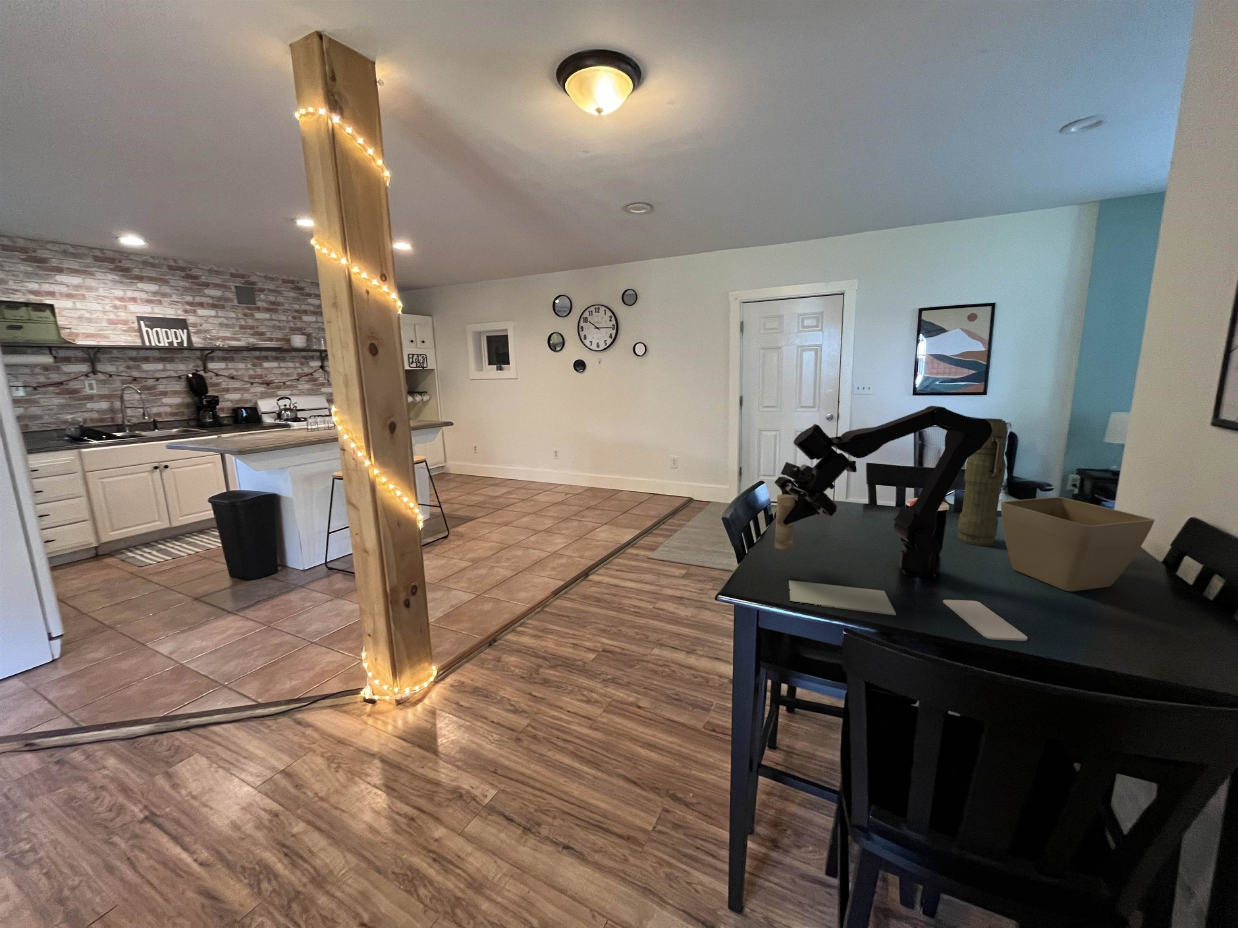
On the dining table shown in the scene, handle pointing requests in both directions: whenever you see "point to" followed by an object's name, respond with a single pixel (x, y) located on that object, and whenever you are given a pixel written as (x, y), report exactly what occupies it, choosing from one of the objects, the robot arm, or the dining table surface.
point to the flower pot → (1071, 541)
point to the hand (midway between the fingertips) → (779, 520)
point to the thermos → (983, 488)
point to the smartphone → (985, 620)
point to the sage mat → (841, 597)
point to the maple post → (783, 531)
